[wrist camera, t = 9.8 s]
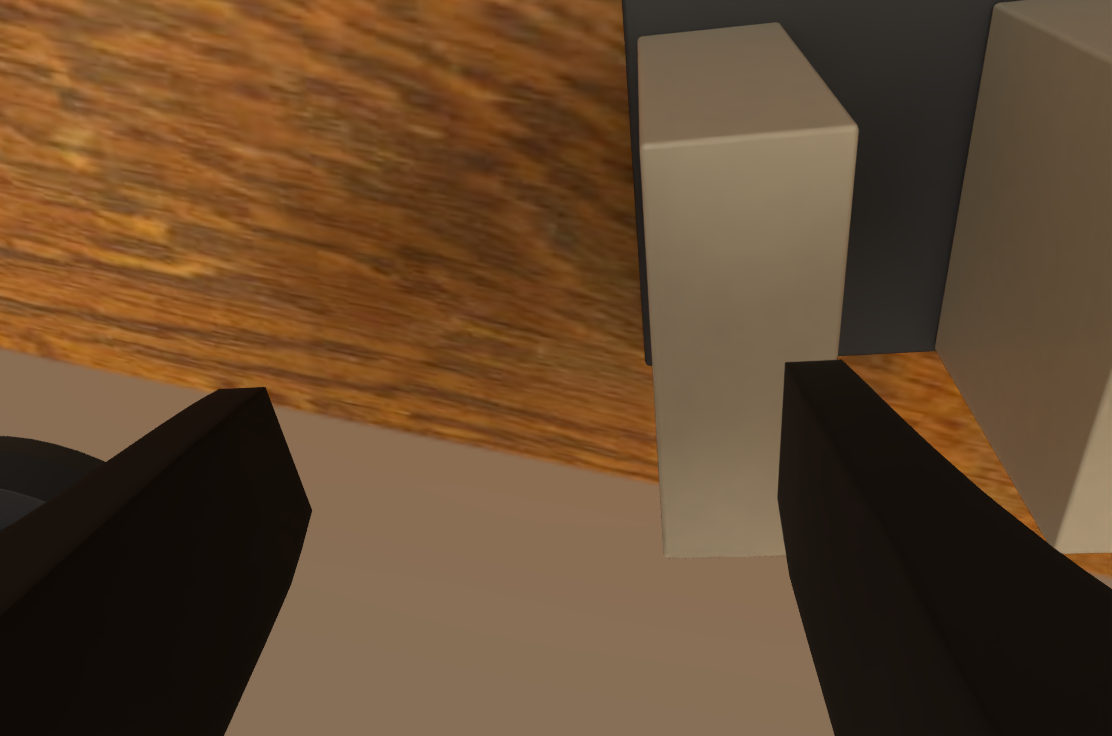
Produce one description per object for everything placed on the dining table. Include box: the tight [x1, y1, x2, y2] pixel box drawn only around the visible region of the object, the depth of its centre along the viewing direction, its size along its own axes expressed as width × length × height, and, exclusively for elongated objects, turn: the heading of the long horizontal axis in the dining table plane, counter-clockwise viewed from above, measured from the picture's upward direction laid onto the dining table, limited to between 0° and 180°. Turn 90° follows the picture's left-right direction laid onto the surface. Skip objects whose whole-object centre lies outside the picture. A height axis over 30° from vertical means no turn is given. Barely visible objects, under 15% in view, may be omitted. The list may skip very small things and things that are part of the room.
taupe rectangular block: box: [637, 22, 859, 558], centre depth 14 cm, size 7×2×6 cm, turn 7°
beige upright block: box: [935, 0, 1112, 554], centre depth 13 cm, size 7×2×6 cm, turn 7°
